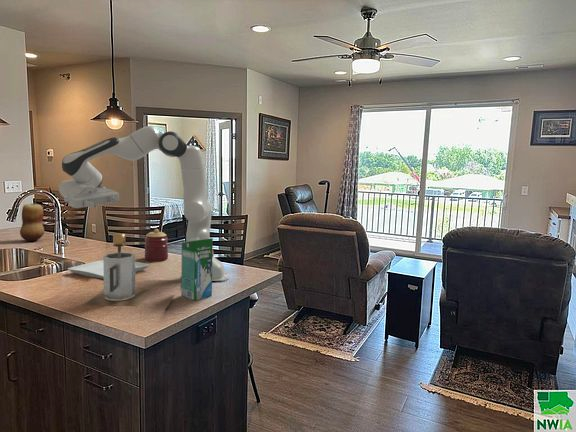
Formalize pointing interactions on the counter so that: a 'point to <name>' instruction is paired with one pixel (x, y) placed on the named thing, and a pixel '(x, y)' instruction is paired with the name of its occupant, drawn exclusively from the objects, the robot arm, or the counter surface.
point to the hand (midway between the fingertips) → (105, 203)
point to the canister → (156, 246)
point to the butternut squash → (32, 222)
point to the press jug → (119, 277)
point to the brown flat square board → (100, 301)
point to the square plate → (99, 269)
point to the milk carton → (197, 268)
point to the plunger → (119, 242)
